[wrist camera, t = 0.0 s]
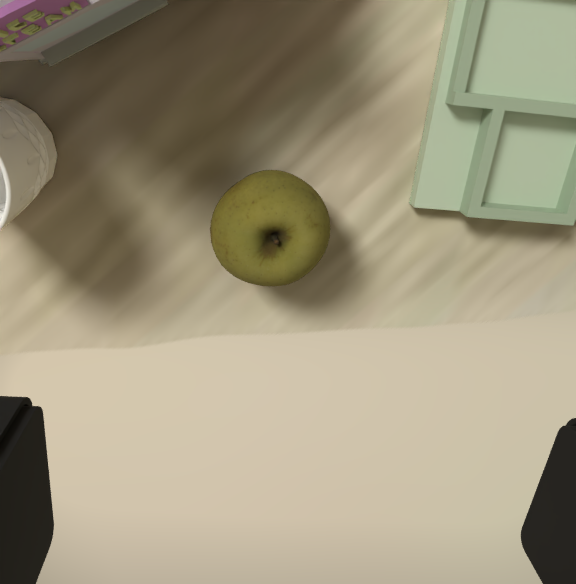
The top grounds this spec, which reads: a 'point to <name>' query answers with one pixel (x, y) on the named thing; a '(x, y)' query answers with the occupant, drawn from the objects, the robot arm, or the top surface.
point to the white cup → (22, 158)
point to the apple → (270, 228)
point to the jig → (502, 113)
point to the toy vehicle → (63, 25)
